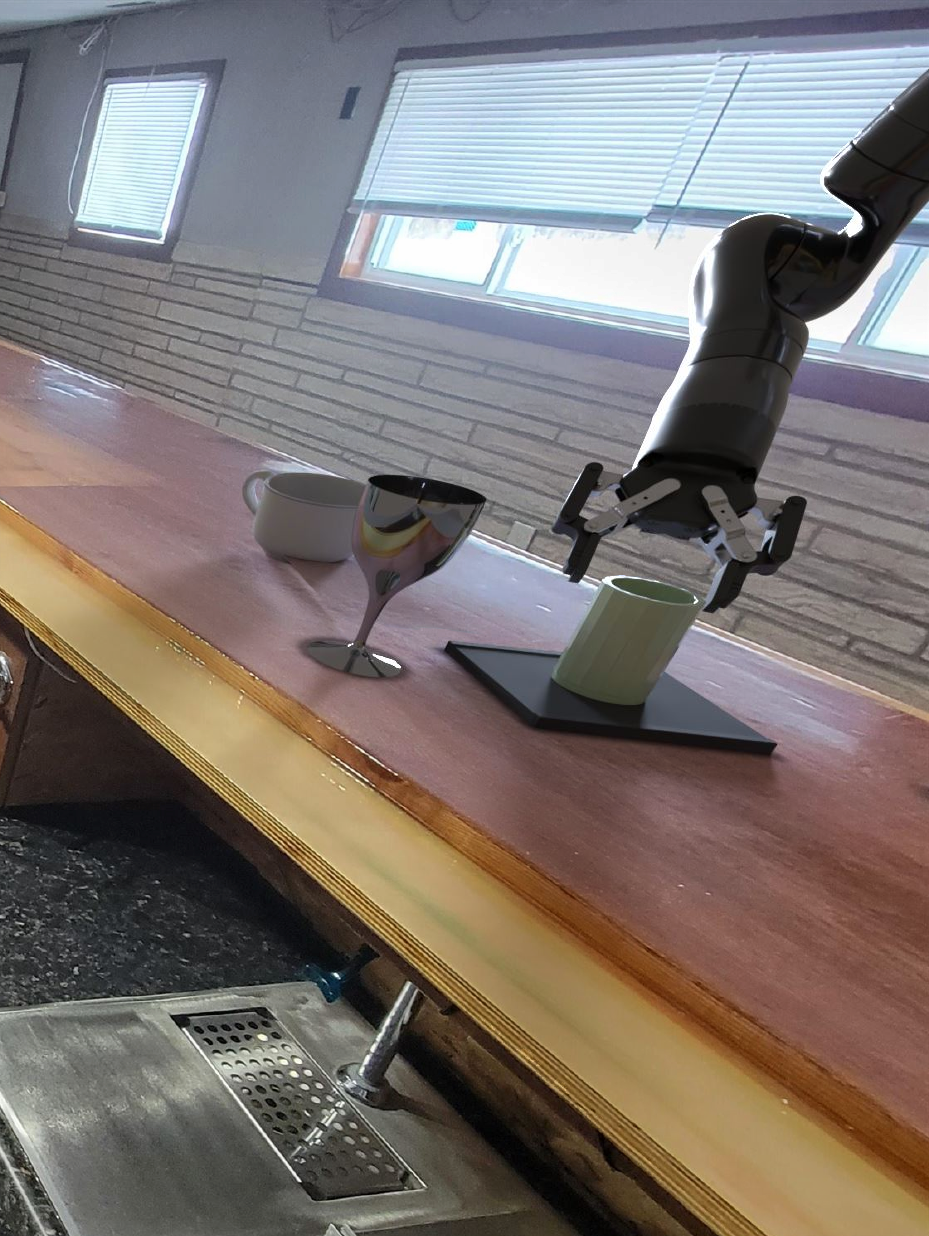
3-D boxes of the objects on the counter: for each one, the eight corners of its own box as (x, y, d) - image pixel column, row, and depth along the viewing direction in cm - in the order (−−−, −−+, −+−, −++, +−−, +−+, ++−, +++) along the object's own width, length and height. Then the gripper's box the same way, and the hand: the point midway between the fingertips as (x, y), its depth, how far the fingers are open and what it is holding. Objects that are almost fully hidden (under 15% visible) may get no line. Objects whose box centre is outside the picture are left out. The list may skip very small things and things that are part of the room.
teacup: (378, 574, 105) (410, 500, 101) (291, 578, 103) (319, 503, 99) (280, 529, 117) (305, 461, 113) (200, 533, 115) (222, 463, 111)
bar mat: (644, 672, 87) (651, 661, 86) (769, 756, 75) (778, 743, 74) (443, 651, 89) (448, 640, 88) (533, 729, 77) (540, 716, 76)
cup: (614, 675, 84) (669, 580, 79) (664, 709, 78) (726, 609, 74) (535, 667, 84) (586, 572, 80) (579, 700, 79) (636, 601, 75)
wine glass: (392, 648, 89) (467, 482, 81) (419, 687, 82) (503, 510, 75) (292, 633, 91) (356, 469, 84) (311, 669, 84) (382, 495, 77)
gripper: (619, 385, 85) (547, 547, 83) (858, 416, 77) (785, 596, 75) (588, 438, 91) (521, 590, 89) (806, 471, 83) (738, 639, 81)
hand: (642, 593), depth 82 cm, fingers open, 8 cm apart
